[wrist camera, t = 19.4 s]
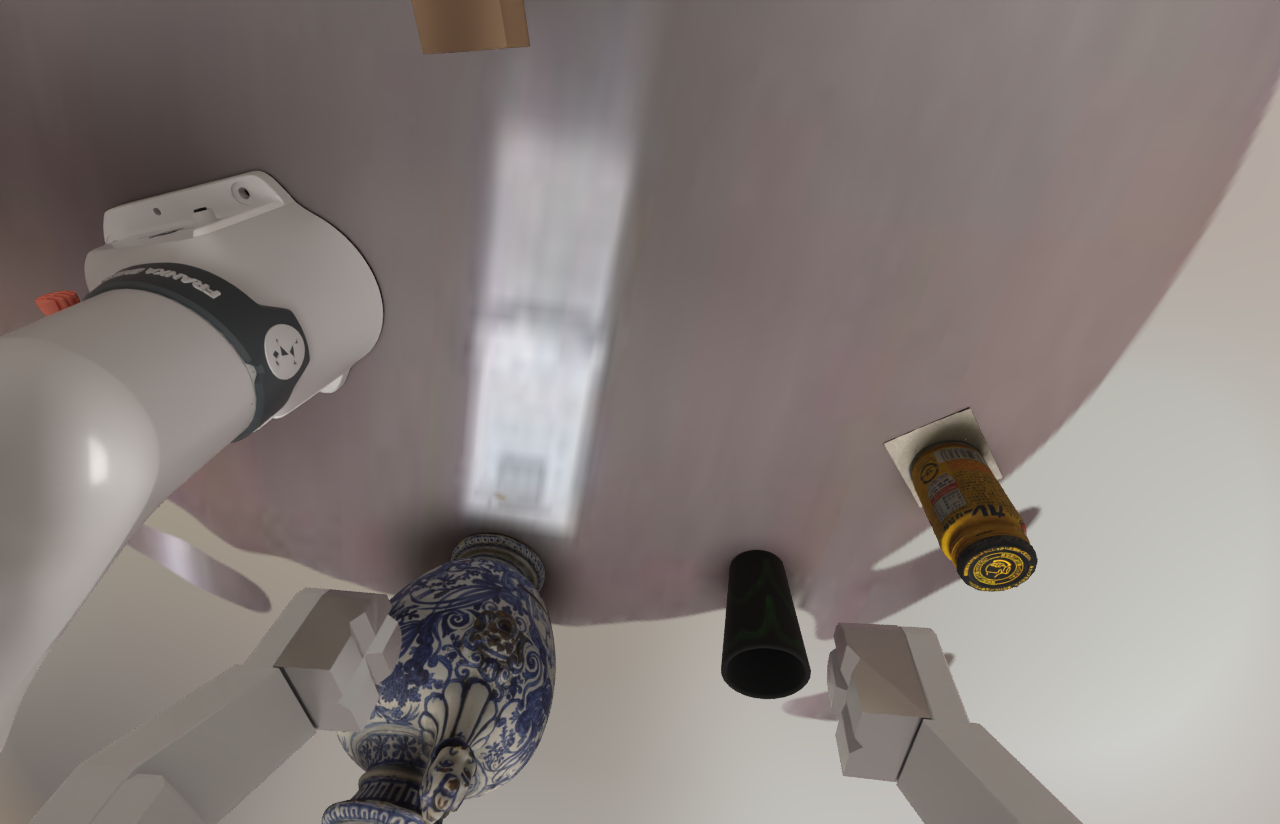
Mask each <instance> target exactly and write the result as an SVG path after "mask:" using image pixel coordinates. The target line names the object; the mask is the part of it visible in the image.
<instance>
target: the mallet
mask: <svg viewBox="0 0 1280 824" xmlns="http://www.w3.org/2000/svg"><path fill="white" fill-rule="evenodd" d="M411 2H412V6H413V11H414V15H415V19H416V24H417V28H418V33H419V37H420V42H421V46H422V50H423V54H438V53H454V52H466V51H479V50H491V49H503V48H516V47H528V46H530V42H529V35H528V28H527V21H526V14H525V7H524V0H411Z"/></svg>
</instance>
